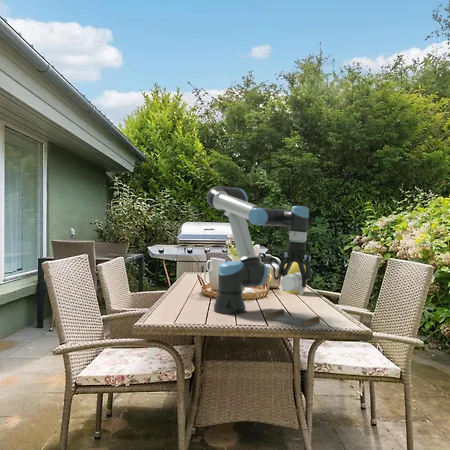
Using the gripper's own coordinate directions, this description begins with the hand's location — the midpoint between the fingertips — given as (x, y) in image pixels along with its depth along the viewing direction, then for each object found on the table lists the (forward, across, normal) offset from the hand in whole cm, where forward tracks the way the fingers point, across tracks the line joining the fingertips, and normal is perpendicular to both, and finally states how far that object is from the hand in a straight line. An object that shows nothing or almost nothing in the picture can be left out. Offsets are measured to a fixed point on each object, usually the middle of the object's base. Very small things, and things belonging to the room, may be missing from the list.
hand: (292, 292), depth 180 cm
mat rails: (+12, +2, -1) cm, 12 cm away
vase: (+14, -34, +66) cm, 76 cm away
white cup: (-5, 0, -6) cm, 8 cm away
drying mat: (+12, +2, -1) cm, 12 cm away
